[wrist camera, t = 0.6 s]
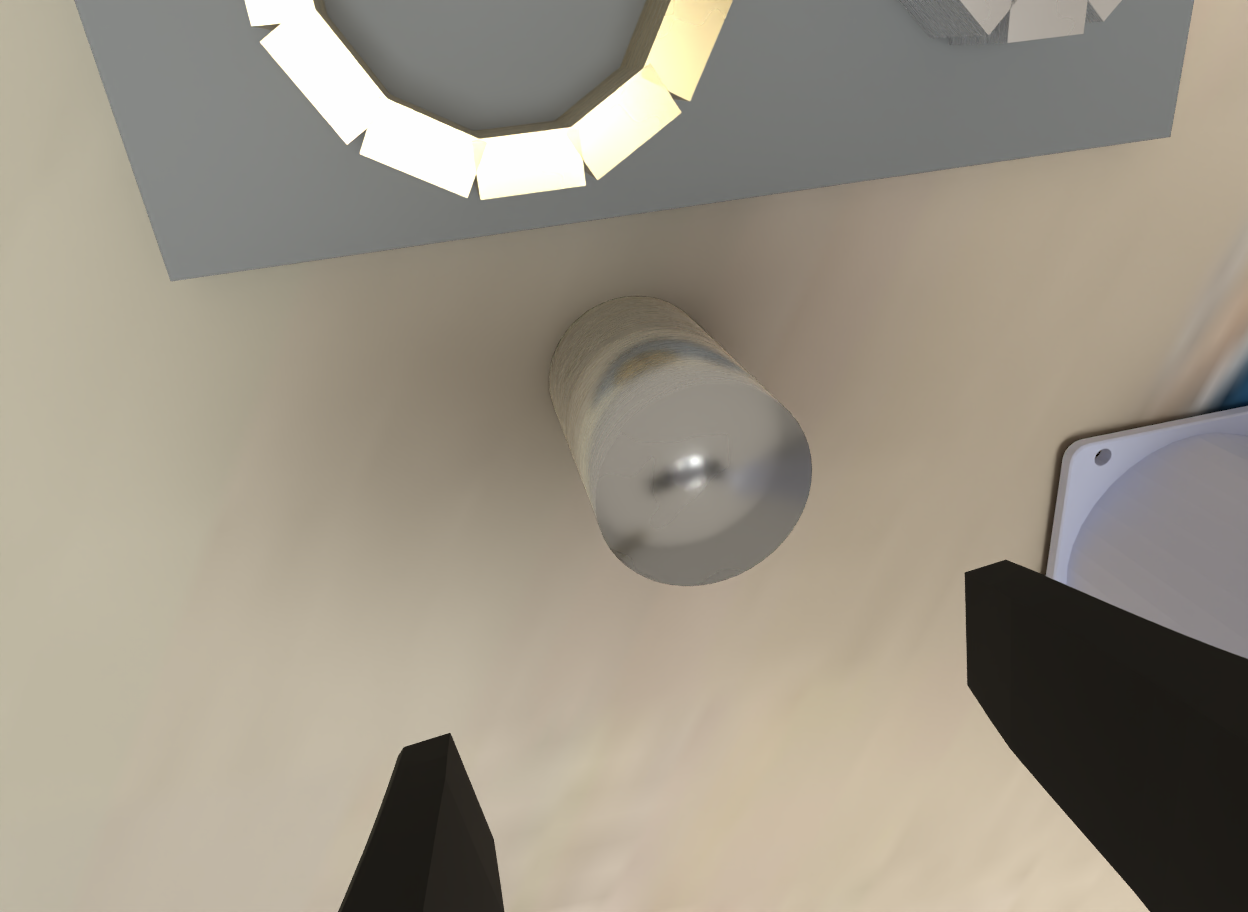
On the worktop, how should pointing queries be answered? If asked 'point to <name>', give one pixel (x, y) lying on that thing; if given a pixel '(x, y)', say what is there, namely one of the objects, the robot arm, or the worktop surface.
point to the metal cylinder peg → (676, 444)
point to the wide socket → (507, 156)
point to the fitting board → (561, 76)
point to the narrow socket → (1006, 18)
